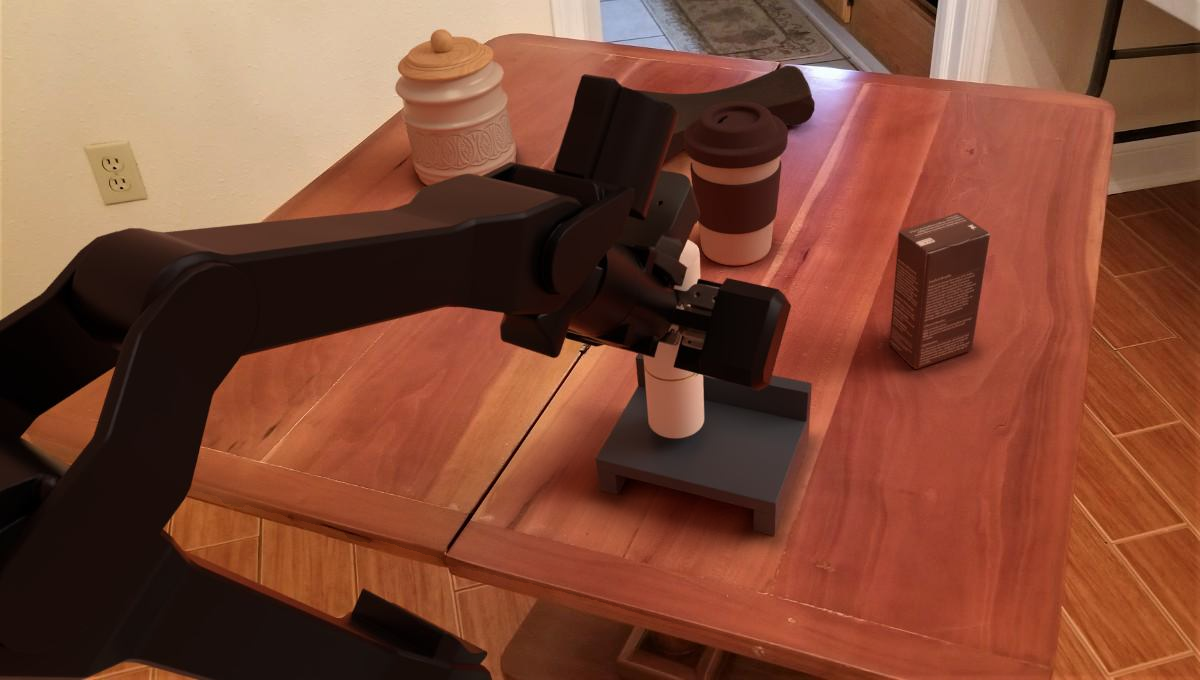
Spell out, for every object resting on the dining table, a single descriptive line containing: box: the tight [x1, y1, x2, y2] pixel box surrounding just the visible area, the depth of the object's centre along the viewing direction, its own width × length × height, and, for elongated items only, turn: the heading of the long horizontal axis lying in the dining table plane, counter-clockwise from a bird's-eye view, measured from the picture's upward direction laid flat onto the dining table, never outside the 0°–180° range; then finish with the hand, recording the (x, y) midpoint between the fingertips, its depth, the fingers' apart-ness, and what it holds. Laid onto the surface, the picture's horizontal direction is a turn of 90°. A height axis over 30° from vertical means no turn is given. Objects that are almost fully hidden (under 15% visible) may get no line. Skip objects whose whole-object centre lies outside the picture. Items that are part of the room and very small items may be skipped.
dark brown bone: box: [634, 65, 816, 162], centre depth 115 cm, size 11×10×28 cm
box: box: [888, 212, 991, 370], centre depth 79 cm, size 6×4×12 cm
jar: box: [394, 28, 517, 186], centre depth 113 cm, size 13×13×18 cm
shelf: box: [594, 353, 813, 537], centre depth 72 cm, size 10×14×6 cm
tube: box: [643, 239, 704, 438], centre depth 67 cm, size 4×4×15 cm
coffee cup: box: [684, 101, 789, 266], centre depth 94 cm, size 10×10×15 cm
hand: (680, 330), depth 68 cm, fingers closed on tube, 4 cm apart
